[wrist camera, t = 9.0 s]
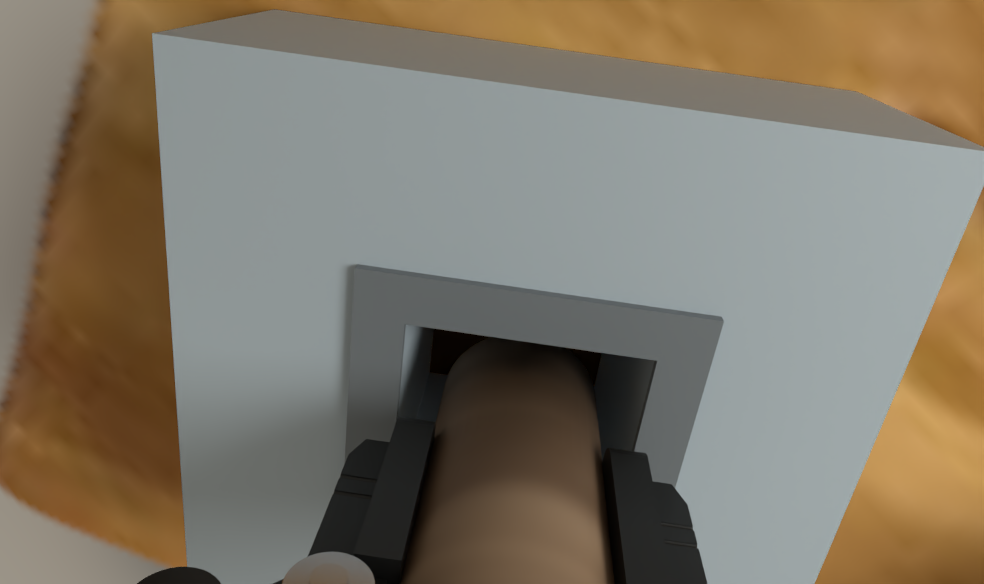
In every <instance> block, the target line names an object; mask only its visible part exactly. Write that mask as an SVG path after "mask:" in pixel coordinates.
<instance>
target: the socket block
mask: <svg viewBox="0 0 984 584" xmlns="http://www.w3.org/2000/svg"><path fill="white" fill-rule="evenodd" d="M152 40H153V55H154V71H155V86H156V101H157V116H158V131H159V146H160V161H161V176H162V191H163V207H164V222H165V237H166V252H167V267H168V282H169V297H170V312H171V328H172V343H173V358H174V373H175V388H176V403H177V418H178V433H179V448H180V464H181V479H182V494H183V509H184V524H185V539H186V554H187V567H194V568H199V569H203V570H205V571H207V572H209V573H211V574H212V575H214V576H215V577H216V578H217V579H218V580H219V581H220V583H221V584H273V583H275V582H278V581H280V580H282V579H284V577H285V575H286V574H287V572H288V571H289V570H290V568H292V567H293V566H294V565H295V564H296V563H297V562H299V561H300V560H302V559H304V558H306V557H307V556H308V554H309V552H310V550H311V547H312V545H313V542H314V540H315V537H316V535H317V532H318V530H319V527H320V524H321V522H322V519H323V517H324V514H325V512H326V509H327V507H328V504H329V502H330V499H331V497H332V494H334V489H335V487H336V484H337V482H338V479H339V478H340V475H341V472H342V469H343V467H344V464H345V462H346V459H347V457H348V454H349V453H351V452H352V451H353V450H354V449H355V448H356V447H357V446H359V445H360V444H361V443H362V442H363V441H364V440H366V439H371V440H377V441H384V442H390V439H391V436H392V433H393V430H394V427H395V424H396V421H397V418H398V417H405V418H412V419H419V420H426V421H433V422H436V419H437V414H438V410H439V406H440V402H441V398H442V394H443V390H444V385H445V381H446V379H447V376H448V375H445V374H439V373H432V372H430V363H431V354H432V344H433V335H434V329H441V330H448V331H455V332H461V333H468V334H475V335H482V336H489V337H496V338H503V339H510V340H517V341H524V342H530V343H537V344H544V345H551V346H558V347H565V348H572V349H579V350H586V351H592V352H599V353H601V358H600V362H599V367H598V371H597V376H596V381H595V385H594V391H595V398H596V408H597V417H598V426H599V436H600V445H601V455H602V461H603V457H604V454H605V451H606V449H607V448H614V449H621V450H628V451H635V452H642V453H646V454H647V456H648V460H649V466H650V471H651V476H652V481H654V482H660V483H667V484H672V485H673V487H674V488H675V489H676V490H677V492H678V493H679V494H680V496H681V497H682V498H683V499H684V501H685V502H686V503H687V505H688V509H689V513H690V517H691V520H692V524H693V531H694V532H695V536H696V540H697V548H698V549H699V552H700V556H701V560H702V564H703V568H704V572H705V576H706V580H707V584H815V581H816V579H817V577H818V574H819V572H820V569H821V567H822V565H823V562H824V560H825V558H826V555H827V553H828V551H829V548H830V546H831V544H832V541H833V539H834V537H835V534H836V532H837V530H838V527H839V525H840V522H841V520H842V518H843V515H844V513H845V511H846V508H847V506H848V504H849V501H850V499H851V497H852V494H853V492H854V490H855V487H856V485H857V482H858V480H859V478H860V475H861V473H862V471H863V468H864V466H865V464H866V461H867V459H868V457H869V454H870V452H871V450H872V447H873V445H874V442H875V440H876V438H877V435H878V433H879V431H880V428H881V426H882V424H883V421H884V419H885V417H886V414H887V412H888V410H889V407H890V405H891V403H892V400H893V398H894V395H895V393H896V391H897V388H898V386H899V384H900V381H901V379H902V377H903V374H904V372H905V370H906V367H907V365H908V363H909V360H910V358H911V355H912V353H913V351H914V348H915V346H916V344H917V341H918V339H919V337H920V334H921V332H922V330H923V327H924V325H925V323H926V320H927V318H928V315H929V313H930V311H931V308H932V306H933V304H934V301H935V299H936V297H937V294H938V292H939V290H940V287H941V285H942V283H943V280H944V278H945V276H946V273H947V271H948V268H949V266H950V264H951V261H952V259H953V257H954V254H955V252H956V250H957V247H958V245H959V243H960V240H961V238H962V236H963V233H964V231H965V228H966V226H967V224H968V221H969V219H970V217H971V214H972V212H973V210H974V207H975V205H976V203H977V200H978V198H979V196H980V193H981V191H982V188H983V186H984V147H982V146H980V145H978V144H975V143H973V142H971V141H969V140H966V139H964V138H962V137H959V136H957V135H955V134H952V133H950V132H948V131H946V130H943V129H941V128H939V127H936V126H934V125H932V124H930V123H927V122H925V121H923V120H920V119H918V118H916V117H914V116H911V115H909V114H907V113H904V112H902V111H900V110H898V109H895V108H893V107H891V106H888V105H886V104H884V103H882V102H879V101H877V100H875V99H872V98H870V97H868V96H866V95H863V94H861V93H859V92H856V91H849V90H841V89H834V88H827V87H820V86H813V85H806V84H799V83H792V82H785V81H778V80H771V79H764V78H756V77H749V76H742V75H735V74H728V73H721V72H714V71H707V70H700V69H693V68H686V67H679V66H671V65H664V64H657V63H650V62H643V61H636V60H629V59H622V58H615V57H608V56H601V55H594V54H586V53H579V52H572V51H565V50H558V49H551V48H544V47H537V46H530V45H523V44H516V43H509V42H501V41H494V40H487V39H480V38H473V37H466V36H459V35H452V34H445V33H438V32H431V31H424V30H417V29H409V28H402V27H395V26H388V25H381V24H374V23H367V22H360V21H353V20H346V19H339V18H332V17H324V16H317V15H310V14H303V13H296V12H289V11H282V10H269V11H264V12H259V13H254V14H249V15H244V16H239V17H233V18H228V19H223V20H218V21H213V22H208V23H203V24H198V25H192V26H187V27H182V28H177V29H172V30H167V31H162V32H156V33H152Z"/></svg>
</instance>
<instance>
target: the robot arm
mask: <svg viewBox="0 0 984 584" xmlns="http://www.w3.org/2000/svg"><path fill="white" fill-rule="evenodd" d="M435 429H436V422H433V421H426V420H419V419H412V418H405V417H398V418H397V421H396V424H395V427H394V430H393V433H392V436H391V439H390V442H384V441H377V440H371V439H366V440H364V441H363V442H362V443H361V444H360V445H359V446H357V447H356V448H355V449H354V450H353V451H352V452H351V453H349V454H348V457H347V459H346V462H345V464H344V467H343V469H342V472H341V475H340V478H339V479H338V482H337V484H336V487H335V489H334V494H332V497H331V499H330V502H329V504H328V507H327V509H326V512H325V514H324V517H323V519H322V522H321V524H320V527H319V530H318V532H317V535H316V537H315V540H314V542H313V545H312V547H311V550H310V552H309V554H308V556H307V557H306V558H304V559H302V560H300V561H299V562H297V563H296V564H295V565H294V566H293V567H292V568H290V570H289V571H288V572H287V574H286V575H285V577H284V579H282V580H280V581H278V582H275V583H273V584H400V583H401V579H402V575H403V571H404V566H405V562H406V558H407V553H408V549H409V545H410V541H411V536H412V532H413V528H414V524H415V519H416V515H417V511H418V507H419V502H420V498H421V494H422V489H423V485H424V481H425V477H426V472H427V468H428V464H429V460H430V455H431V451H432V447H433V443H434V438H435ZM602 468H603V477H604V487H605V496H606V506H607V515H608V525H609V534H610V543H611V553H612V562H613V572H614V581H615V584H707V580H706V576H705V572H704V568H703V564H702V560H701V556H700V552H699V549H698V548H697V540H696V536H695V532H694V531H693V524H692V520H691V517H690V513H689V509H688V505H687V503H686V502H685V501H684V499H683V498H682V497H681V496H680V494H679V493H678V492H677V490H676V489H675V488H674V487H673V485H672V484H667V483H660V482H654V481H652V476H651V471H650V466H649V460H648V456H647V454H646V453H642V452H635V451H628V450H621V449H614V448H607V449H606V451H605V454H604V457H603V461H602ZM137 584H221V583H220V581H219V580H218V579H217V578H216V577H215V576H214V575H212V574H211V573H209V572H207V571H205V570H203V569H199V568H194V567H175V568H169V569H166V570H162V571H159V572H157V573H154V574H152V575H150V576H148V577H146V578H144V579H143V580H141V581H140V582H139V583H137Z"/></svg>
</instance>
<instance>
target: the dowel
mask: <svg viewBox="0 0 984 584" xmlns="http://www.w3.org/2000/svg"><path fill="white" fill-rule="evenodd" d="M400 584H615V581H614V572H613V562H612V553H611V543H610V534H609V525H608V515H607V506H606V496H605V487H604V477H603V468H602V455H601V445H600V436H599V426H598V417H597V408H596V398H595V391H594V386H593V383H592V380H591V377H590V375H589V373H588V371H587V369H586V368H585V366H584V365H583V364H582V362H581V361H580V360H579V359H578V358H577V357H576V356H575V355H574V354H573V353H572V352H570V351H569V350H568V349H567V348H565V347H558V346H551V345H544V344H537V343H530V342H524V341H517V340H510V339H503V338H496V337H490V338H488V339H485V340H483V341H480V342H479V343H477V344H475V345H473V346H472V347H470V348H469V349H468V350H466V351H465V352H464V353H463V354H462V355H461V356H460V357H459V358H458V359H457V360H456V362H455V363H454V364H453V366H452V368H451V369H450V371H449V373H448V376H447V379H446V381H445V385H444V390H443V394H442V398H441V402H440V406H439V410H438V414H437V419H436V429H435V438H434V443H433V447H432V451H431V455H430V460H429V464H428V468H427V472H426V477H425V481H424V485H423V489H422V494H421V498H420V502H419V507H418V511H417V515H416V519H415V524H414V528H413V532H412V536H411V541H410V545H409V549H408V553H407V558H406V562H405V566H404V571H403V575H402V579H401V583H400Z"/></svg>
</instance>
